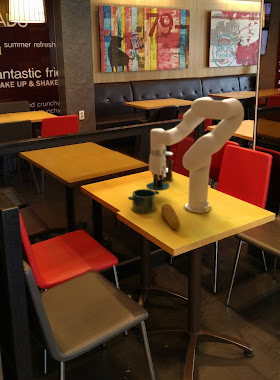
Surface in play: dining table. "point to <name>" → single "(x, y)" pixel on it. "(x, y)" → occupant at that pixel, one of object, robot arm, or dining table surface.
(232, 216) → the dining table surface
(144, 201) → the pot
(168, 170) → the french press
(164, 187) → the lid
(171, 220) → the food
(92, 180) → the dining table surface
